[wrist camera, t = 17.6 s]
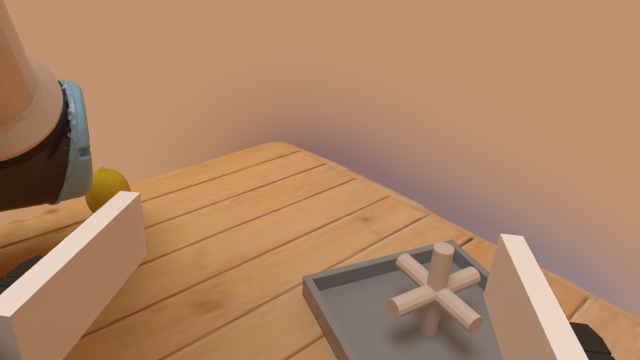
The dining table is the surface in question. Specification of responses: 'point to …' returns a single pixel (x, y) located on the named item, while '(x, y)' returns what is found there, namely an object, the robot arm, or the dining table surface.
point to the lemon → (105, 188)
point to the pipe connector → (436, 291)
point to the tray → (378, 324)
